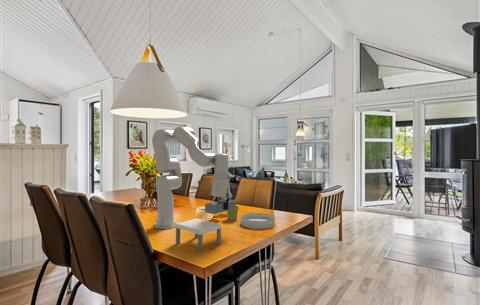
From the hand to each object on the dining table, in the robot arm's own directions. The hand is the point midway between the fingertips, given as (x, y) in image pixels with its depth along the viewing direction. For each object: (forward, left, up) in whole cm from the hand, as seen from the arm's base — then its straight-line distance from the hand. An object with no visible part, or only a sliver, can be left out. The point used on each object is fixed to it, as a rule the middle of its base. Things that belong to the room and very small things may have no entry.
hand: (220, 208), depth 147 cm
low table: (0, -16, -15) cm, 22 cm away
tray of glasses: (0, 0, -1) cm, 1 cm away
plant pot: (-19, +32, -15) cm, 40 cm away
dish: (+1, +34, -16) cm, 37 cm away
